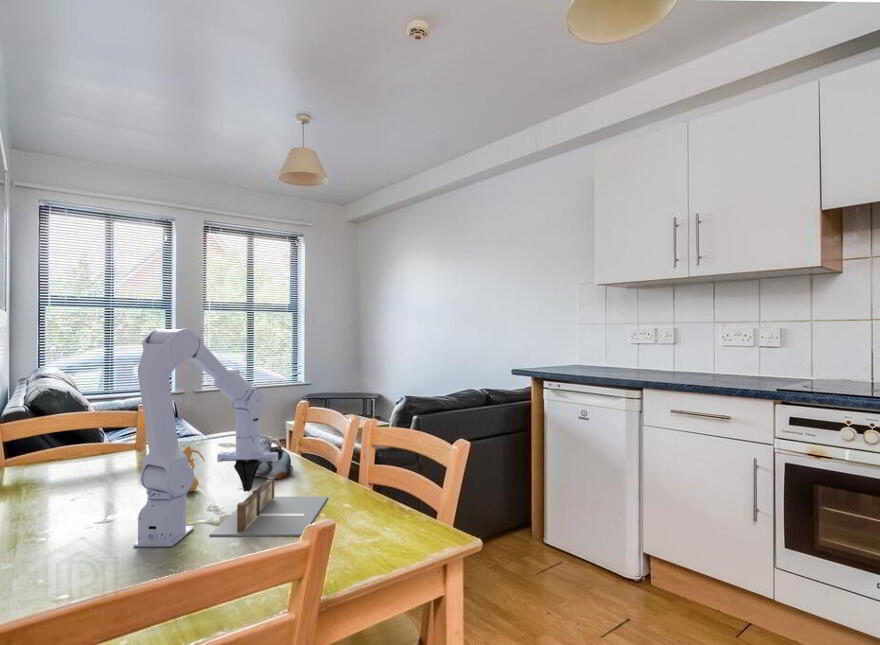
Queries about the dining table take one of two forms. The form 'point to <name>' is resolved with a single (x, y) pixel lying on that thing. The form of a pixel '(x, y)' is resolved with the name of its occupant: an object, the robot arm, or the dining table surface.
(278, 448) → the lucky cat figurine
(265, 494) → the post
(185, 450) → the figurine
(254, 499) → the fixed fence section
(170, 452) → the robot arm
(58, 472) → the dining table surface
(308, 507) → the card
